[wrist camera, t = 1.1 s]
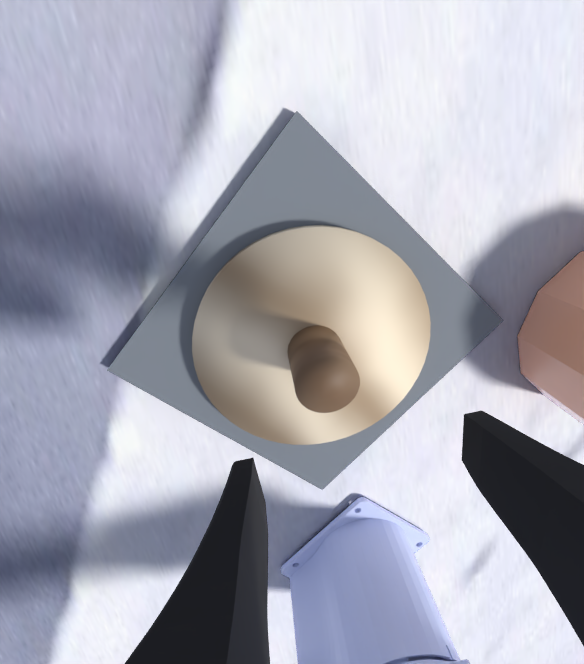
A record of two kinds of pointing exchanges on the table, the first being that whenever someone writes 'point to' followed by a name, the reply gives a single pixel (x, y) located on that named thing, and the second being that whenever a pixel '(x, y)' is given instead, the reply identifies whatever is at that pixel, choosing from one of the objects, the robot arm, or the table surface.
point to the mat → (279, 214)
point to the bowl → (557, 339)
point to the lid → (310, 335)
